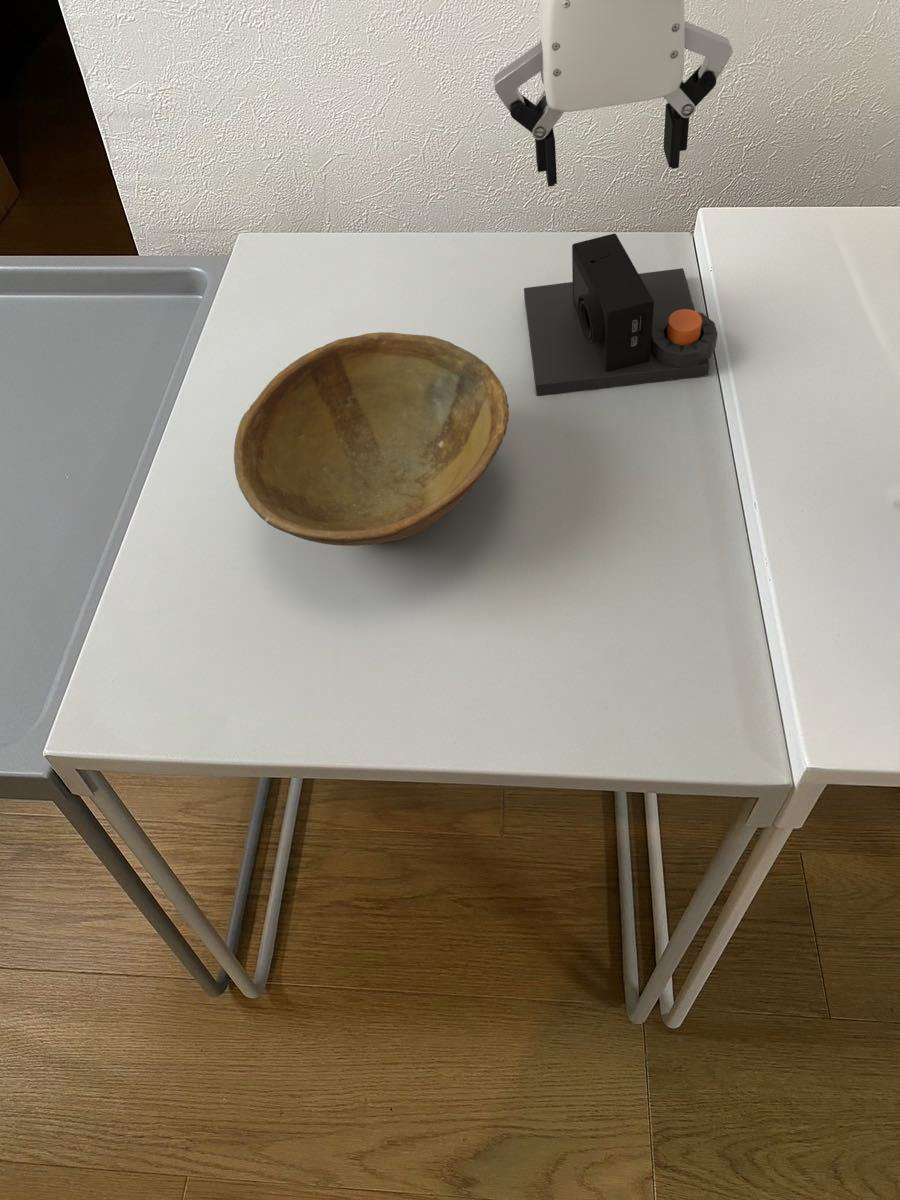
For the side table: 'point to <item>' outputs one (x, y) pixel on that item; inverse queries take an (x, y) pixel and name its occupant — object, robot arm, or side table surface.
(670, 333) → the button
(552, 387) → the scale
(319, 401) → the bowl
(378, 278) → the side table surface
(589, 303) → the digital camera
